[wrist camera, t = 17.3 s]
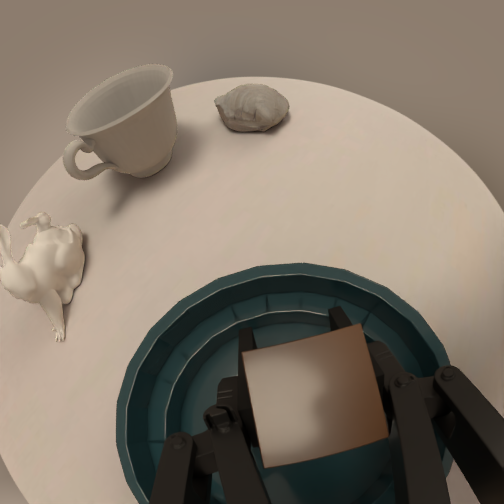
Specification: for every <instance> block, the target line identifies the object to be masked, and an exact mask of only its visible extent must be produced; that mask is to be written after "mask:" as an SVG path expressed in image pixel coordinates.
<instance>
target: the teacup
mask: <svg viewBox="0 0 504 504" xmlns="http://www.w3.org/2000/svg"><path fill="white" fill-rule="evenodd" d="M172 77H173V72H172V70H171V69H170V68H169V67H167V66H164V65H160V64H149V65H143V66H138V67H134V68H131V69H128V70H125V71H123V72H121V73H118V74H116V75H114V76H113V77H111V78H109V79H107V80H105V81H104V82H102V83H101V84H99V85H97V86H96V87H95V88H93V89H92V90H91V91H89V92H88V93H87V94H86V95H85V96H84V97H83V98H82V99H81V100H80V101H79V102H78V103H77V104H76V105H75V106H74V108H73V109H72V111H71V112H70V114H69V116H68V119H67V123H66V131H67V132H68V133H69V134H70V135H74V136H79V137H80V138H81V139H82V140H83V141H84V142H83V141H80V140H76V141H73V142H71V143H69V145H68V146H67V147H66V149H65V151H64V153H63V163H64V166H65V169H66V170H67V172H68V173H69V174H70V175H71V176H72V177H74V178H76V179H78V180H89V179H92V178H94V177H96V176H97V175H99V174H100V173H101V172H103V171H104V170H106V169H113V170H115V171H117V172H121V173H130V174H131V175H132V176H134V177H138V178H143V177H148V176H151V175H153V174H155V173H157V172H158V171H160V170H161V169H163V168H164V167H165V166H166V165H167V164H168V162H169V161H170V159H171V156H172V148H173V146H174V144H175V141H176V138H177V121H176V115H175V111H174V106H173V102H172V98H171V92H170V87H169V86H170V83H171V80H172ZM80 149H81V150H82V151H83V152H86V153H91V152H92V151H94V153H95V154H96V155H97V156H98V157H99V158H100V159H101V160H102V161H103V162H104V163H100V164H97V165H95V166H93V167H91V168H90V169H88V170H85V171H82V170H79V169H78V168H77V166H76V163H75V156H76V153H77V152H78V150H80Z"/></svg>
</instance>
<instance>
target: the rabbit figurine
mask: <svg viewBox="0 0 504 504" xmlns="http://www.w3.org/2000/svg"><path fill="white" fill-rule="evenodd" d="M50 222H51V217H50V216H49V215H48V214H47V213H45V212H40V213H39V214H38V215H37V216H36V217H32V218H29V219H28V220H26V221H24V222H22V223H21V224H20V227H21V229H24V228H26V227H28V226H31V225H36V227H37V231H38V232H37V233H36V235H35V237H34V241H33V244H31V243H29V245H28V246H27V247H26V250H25V253H24V255H23V257H22V258H21V259H20V261H19V262H18V263H16V262H15V261H14V260H13V257H12V251H11V237H10V234H9V232H8V229H7V228H6V227H4V226H3V225H1V224H0V253H1V256H2V259H3V262H4V266H3V267H2V266H0V279H1V282H2V285H3V287H4V288H5V289H6V290H8V291H9V292H10V294H11V295H12V296H13V297H15V298H17V299H22V300H24V301H27V302H29V303H34V304H35V303H40V305H41V306H42V308H43V309H44V310H45V312H46V313H47V315H48V317H49V319H50V320H51V322H52V324H53V325H54V327H55V328H52V330H53V331H54V330H56V337H55V338H56V342H57V339H58V340H59V342H60V340H61V338H62V341H63V340H64V339H65V337H64V329H65V323H64V318H63V309H62V303H63V304H68V303H69V302H70V301H71V299H72V295H73V289H74V288H76V287H77V286H78V285H79V284H80V283H81V279H82V273H83V266H84V262H85V255H84V252H83V250H82V247H81V246H82V232H81V230H80V228H79V227H78V226H77V225H75V224H70V225H68V227H62V226H59V225H58V226H57V227H54V226H51V225H50Z"/></svg>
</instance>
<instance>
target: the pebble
mask: <svg viewBox="0 0 504 504" xmlns="http://www.w3.org/2000/svg"><path fill="white" fill-rule="evenodd" d="M214 101H215V105H216V107H217V109H218V111H219V114H220V116H221V118H222V119H223V121H224V122H225V124H226V125H227V126H228V127H229V128H231V129H233V130H236V131H255V130H259V131H263V132H264V131H266V130H267V129H269V128H270V127H272V126H275V125H276V124H278V123H279V122H280V121H281V120H282V119H283V118H284V117H285V116H286V114H287V112H288V110H289V103H288V101H287V99H286V98H285V97H284V96H283V95H281V94H280V93H278V92H277V91H276V90H274V89H272V88H270V87H268V86H266V85H263V84H244V85H240V86H238V87H236V88H235V89H233V90H231V91H230V92H228V93H227V94H225V95H222V96H218V97H217V98H216V99H215V100H214Z"/></svg>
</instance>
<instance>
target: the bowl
mask: <svg viewBox="0 0 504 504" xmlns="http://www.w3.org/2000/svg"><path fill="white" fill-rule="evenodd" d="M338 306H341V307H342V309H343V310H344V312H345V313H346V315H347V316H348V318H349V320H350V321H351V323H352V324H353V325H356V324H359V323H360V324H361V326H362V330H363V333H364V336H365V340H366V343H367V344H368V343H371V342H374V341H378V340H379V341H380V342H382V343H384V344H386V346H387V347H388V348H389V350H390V351H391V352H392V354H393V356H395V358H396V359H397V361H398V362H399V363H400V365H401V366H402V367H403V369H404V370H405V372H408V373H412V374H413V375H415V376H416V377H417V378H424V377H431V376H434V373H435V372H436V370H437V369H438V368H440V367H442V366H446V365H451V364H450V361H449V359H448V356H447V353H446V351H445V348H444V346H443V344H442V343H441V342H440V340H439V339H438V337H437V336H436V335H435V333H434V332H433V331H432V329H431V328H430V326H429V325H428V324H427V322H426V321H425V320H424V318H423V317H422V316H421V314H420V313H419V312H418V311H416V310H415V309H414V308H413V307H411V306H410V305H409V304H408V303H406V302H405V301H404V300H403V299H401V298H400V297H399V296H397V295H396V294H395V293H394V292H392V291H391V290H390V289H388V288H387V287H385V286H383V285H380V284H378V283H376V282H373V281H371V280H369V279H366V278H364V277H362V276H359V275H357V274H355V273H352V272H350V271H348V270H345V269H340V268H334V267H327V266H321V265H315V264H309V263H292V264H278V265H264V266H256V267H253V268H250V269H247V270H243V271H240V272H237V273H234V274H231V275H227V276H224V277H221V278H218V279H216V280H214V281H213V282H211V283H209V284H208V285H206V286H204V287H202V288H201V289H199V290H197V291H196V292H194V293H192V294H191V295H189V296H187V297H185V298H184V299H182V300H181V301H179V302H178V303H177V304H176V305H175V306H174V307H173V308H172V309H170V310H169V311H168V312H167V313H166V314H165V315H164V316H163V317H162V318H161V319H160V320H159V321H158V322H157V323H156V324H155V325H154V326H153V327H152V328H151V329H150V330H149V332H148V333H147V335H146V337H145V338H144V340H143V341H142V343H141V345H140V346H139V348H138V349H137V351H136V353H135V354H134V356H133V358H132V359H131V361H130V363H129V365H128V367H127V370H126V373H125V376H124V380H123V383H122V386H121V390H120V393H119V397H118V400H117V409H116V443H117V444H116V445H117V449H118V453H119V457H120V461H121V465H122V469H123V472H124V476H125V479H126V482H127V484H128V486H129V488H130V489H131V491H132V493H133V495H134V496H135V498H136V500H137V501H138V503H139V504H149V502H150V497H151V493H152V489H153V485H154V481H155V477H156V473H157V469H158V465H159V461H160V457H161V453H162V449H163V445H164V442H165V440H166V439H167V438H168V437H169V436H170V435H172V434H174V433H177V432H186V433H188V434H190V435H191V436H194V435H197V434H200V433H202V432H205V431H206V430H208V428H207V426H206V424H205V422H204V420H203V414H204V412H205V410H206V409H208V408H209V407H210V406H213V405H215V404H216V400H217V389H218V384H219V383H220V381H221V380H222V378H227V377H233V376H238V340H239V330H240V329H244V328H249V327H252V330H253V334H254V338H255V341H256V345H257V349H258V348H263V347H268V346H273V345H277V344H282V343H286V342H290V341H295V340H299V339H303V338H307V337H311V336H315V335H319V334H323V333H327V332H330V331H331V328H330V320H329V313H328V309H330V308H334V307H338ZM384 414H385V412H384ZM385 419H386V414H385ZM432 427H433V426H432ZM433 430H434V434H435V437H436V441H437V445H438V449H439V452H440V456H441V460H442V465H443V469H444V473H445V478H446V477H447V476H448V474H449V472H450V471H449V470H450V469H451V466H452V462H453V457H452V455H451V454H450V452H449V451H448V449H447V447H446V446H445V444H444V443H443V441H442V440H441V438H440V437H439V435H438V433H437V432H436V430H435V429H434V427H433ZM251 451H252V454H253V456H254V459H255V461H256V464H257V467H258V469H259V472H260V475H261V477H262V480H263V482H264V485H265V487H266V490H267V492H268V495H269V497H270V500H271V502H272V504H396V503H395V491H394V480H393V471H392V463H391V455H390V447H389V440H388V437H387V438H385V439H382V440H379V441H376V442H373V443H370V444H367V445H364V446H361V447H358V448H355V449H352V450H348V451H345V452H341V453H338V454H334V455H330V456H326V457H322V458H318V459H314V460H310V461H305V462H300V463H295V464H290V465H285V466H279V467H273V468H267V469H264V468H263V463H262V458H261V453H260V449H259V447H255V448H253V447H252V445H251ZM210 504H227V503H226V499H225V495H224V492H223V488H222V484H221V480H220V476H219V472H215V473H213V474H212V485H211V496H210Z"/></svg>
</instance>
